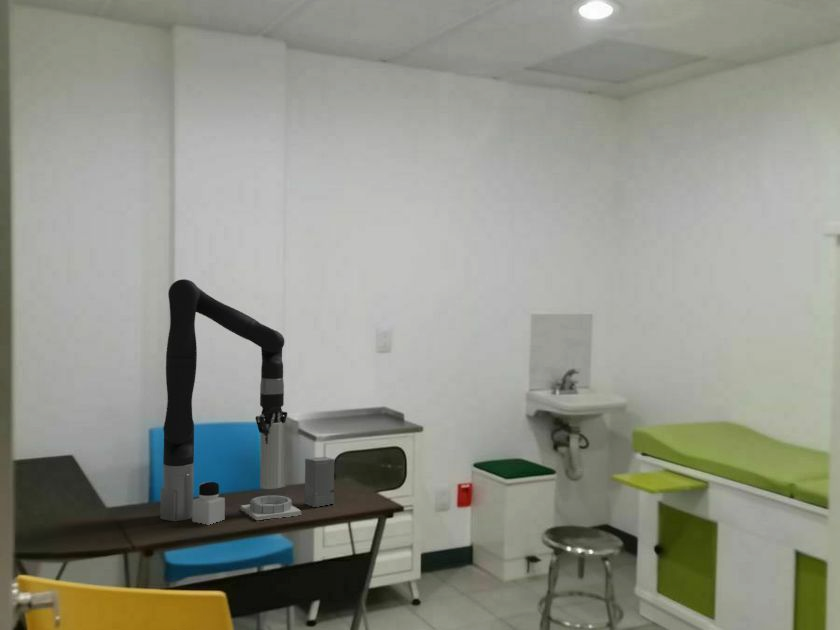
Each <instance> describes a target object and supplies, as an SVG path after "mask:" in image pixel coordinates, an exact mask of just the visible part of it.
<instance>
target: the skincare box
mask: <svg viewBox="0 0 840 630" xmlns="http://www.w3.org/2000/svg"><path fill="white" fill-rule="evenodd" d="M304 464H305V465H304V466H305V467H304V505H306V504H307V505H306V506H309V507H311V506H312V508H314V507H317V508H320V507H319V506H323V507H326V506H325V505H328V506H331V505H330V504H335V503H334V502H335V458H331V457H327V456H320V457H318V456H317V457H307V458H305V460H304Z"/></svg>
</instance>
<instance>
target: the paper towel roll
mask: <svg viewBox="0 0 840 630" xmlns="http://www.w3.org/2000/svg"><path fill="white" fill-rule="evenodd" d="M265 424H266V428H267V430H268V427H269V423H265ZM262 429H263V428H262ZM265 438H266V436H265V435H264V434H263V433H260V460H259V461H260V469H259V471H260V475H259V480H260V481H259V482H260V483H259V487H260V488H261V489H263V490H275V489H280V488H285V487H286V479H287V477H286V476H287V475H286V472H287V471H286V470H287V467H286V466H287V465H286V464H287V422H285V423H282V422H281V423H273V424H272V427H270V435H269V434H268V444H266V441H265V440H266V439H265Z"/></svg>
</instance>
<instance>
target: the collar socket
mask: <svg viewBox="0 0 840 630" xmlns="http://www.w3.org/2000/svg"><path fill="white" fill-rule="evenodd" d="M292 503H293V502H292V498H290V497H288V496H284V495H261V496H256V497H253V498H251V499H250V500H249V504H243V505H242V504H241V505H240V510H241V509H242V510H243V511H245V512H246V513H247V514H249V515H250V516H252V517H253V518H254V519H255V520H263V519H271V518H279V519H283V518H282V517H286V518H292V517H291V516H294V517H299V516H298V515H301V516H302V510H300V509H299V508H297V506H295V505H293V504H292ZM242 510H241V511H242ZM243 511H242V512H243ZM246 513H245V514H246ZM247 514H246V515H247ZM250 516H249V517H250ZM253 518H252V519H253ZM254 519H253V520H254ZM255 520H254V521H255ZM271 520H272V519H271Z"/></svg>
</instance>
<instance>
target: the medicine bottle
mask: <svg viewBox="0 0 840 630" xmlns="http://www.w3.org/2000/svg"><path fill="white" fill-rule="evenodd" d="M225 502H226V498H225V497H221V496H220V485H219V483H218V482H215V481H205V482H201V483H199V485H198V497H197V498H193V514H192V518H191V520H192V523H196V522H197V524H200V523H202V524H201V525H205V524H206V525H205V526H211V525H213V523H214V524H217V523H216V522H218V523H220V521H221V522H223V521H222V520H224V521H225V518H226V517H225V516H226V503H225ZM210 524H211V525H210Z"/></svg>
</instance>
